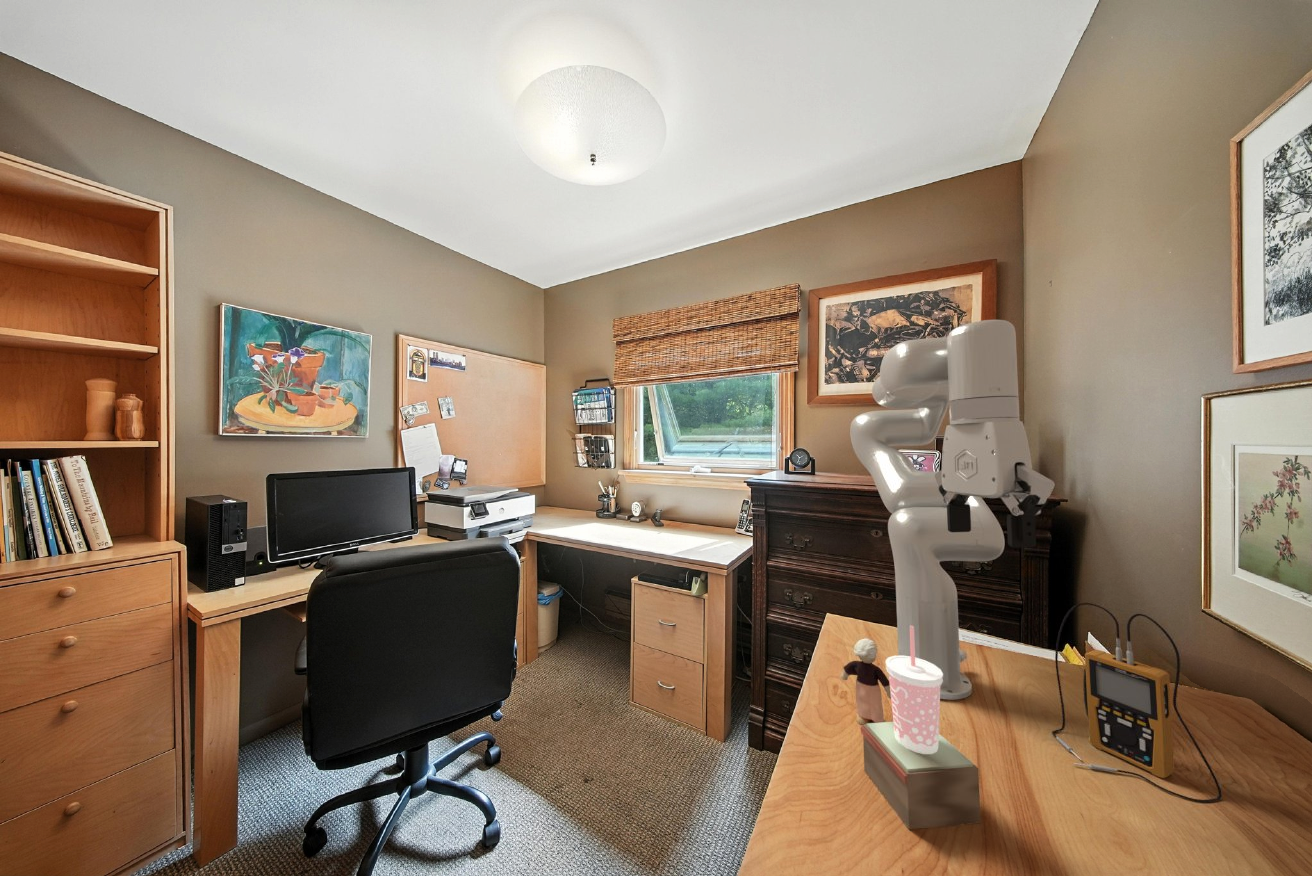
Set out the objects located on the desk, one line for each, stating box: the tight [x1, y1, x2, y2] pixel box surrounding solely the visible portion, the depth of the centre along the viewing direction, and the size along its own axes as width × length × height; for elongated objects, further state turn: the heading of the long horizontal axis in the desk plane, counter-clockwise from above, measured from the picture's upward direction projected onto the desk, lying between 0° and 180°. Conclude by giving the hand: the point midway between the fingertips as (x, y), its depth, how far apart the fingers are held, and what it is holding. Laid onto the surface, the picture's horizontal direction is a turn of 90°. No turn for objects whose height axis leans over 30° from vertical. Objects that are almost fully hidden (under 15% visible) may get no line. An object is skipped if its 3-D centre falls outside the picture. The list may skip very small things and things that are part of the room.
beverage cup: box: [885, 626, 943, 754], centre depth 52 cm, size 6×6×14 cm
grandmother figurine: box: [840, 637, 891, 726], centre depth 65 cm, size 8×4×13 cm, turn 57°
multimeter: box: [1051, 602, 1223, 803], centre depth 55 cm, size 15×10×20 cm
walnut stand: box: [860, 721, 982, 830], centre depth 51 cm, size 9×9×6 cm
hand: (988, 538), depth 56 cm, fingers open, 9 cm apart
